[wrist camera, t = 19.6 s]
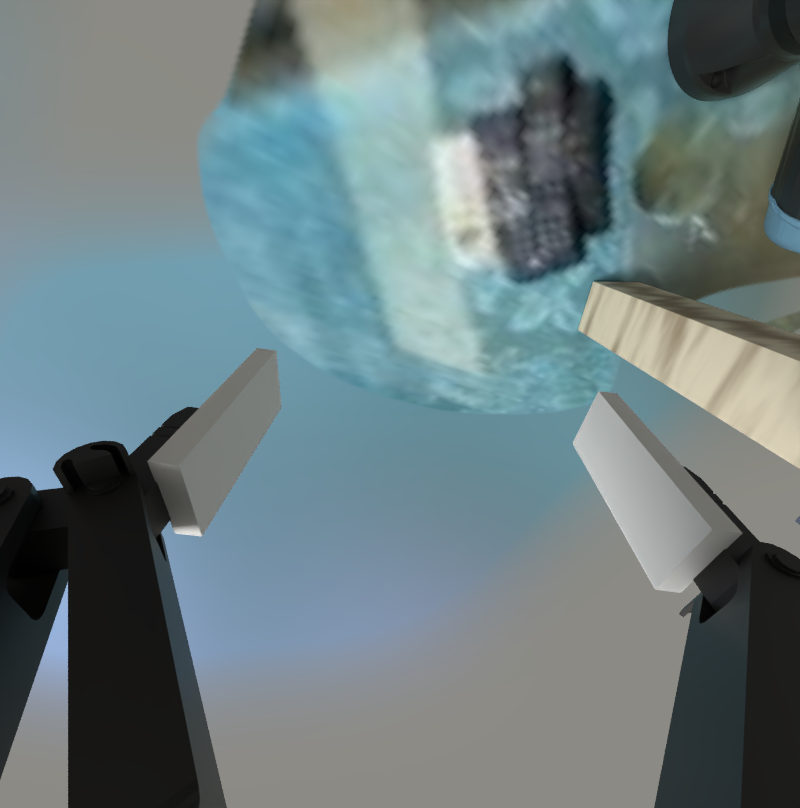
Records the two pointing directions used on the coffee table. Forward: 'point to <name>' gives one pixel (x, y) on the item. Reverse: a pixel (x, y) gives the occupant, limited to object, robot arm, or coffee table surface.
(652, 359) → the pedestal
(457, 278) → the coffee table surface
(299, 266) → the coffee table surface
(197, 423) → the robot arm
